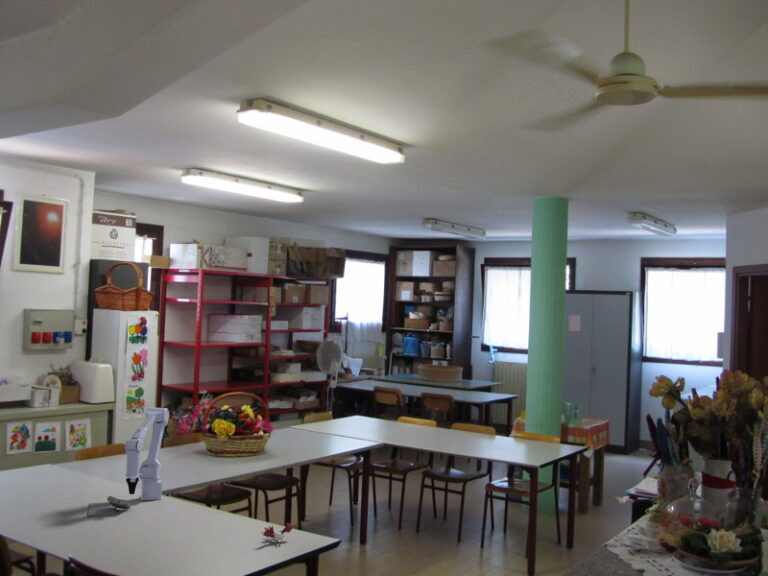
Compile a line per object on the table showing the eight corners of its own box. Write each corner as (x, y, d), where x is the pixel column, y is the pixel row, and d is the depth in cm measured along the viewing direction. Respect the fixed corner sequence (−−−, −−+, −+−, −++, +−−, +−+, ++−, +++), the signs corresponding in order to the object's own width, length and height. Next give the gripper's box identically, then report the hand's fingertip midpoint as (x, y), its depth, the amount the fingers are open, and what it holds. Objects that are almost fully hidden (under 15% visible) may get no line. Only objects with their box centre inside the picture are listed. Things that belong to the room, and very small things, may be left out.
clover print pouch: (131, 504, 335) (126, 499, 326) (129, 511, 333) (123, 505, 324) (112, 500, 335) (106, 494, 326) (110, 506, 334) (104, 500, 325)
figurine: (282, 533, 307) (283, 518, 307) (298, 541, 298) (298, 524, 298) (251, 540, 297) (252, 524, 297) (267, 548, 288) (268, 531, 288)
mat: (116, 502, 344) (116, 501, 344) (116, 514, 325) (116, 513, 325) (89, 504, 340) (89, 503, 340) (88, 516, 321) (88, 515, 321)
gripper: (142, 467, 332) (141, 497, 332) (141, 461, 346) (140, 489, 345) (126, 468, 329) (125, 498, 329) (125, 461, 343) (124, 490, 343)
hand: (131, 494), depth 337 cm, fingers closed
